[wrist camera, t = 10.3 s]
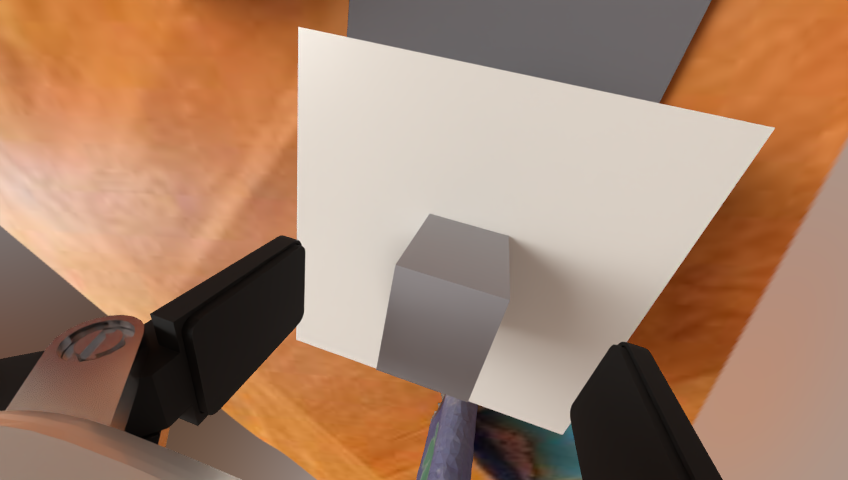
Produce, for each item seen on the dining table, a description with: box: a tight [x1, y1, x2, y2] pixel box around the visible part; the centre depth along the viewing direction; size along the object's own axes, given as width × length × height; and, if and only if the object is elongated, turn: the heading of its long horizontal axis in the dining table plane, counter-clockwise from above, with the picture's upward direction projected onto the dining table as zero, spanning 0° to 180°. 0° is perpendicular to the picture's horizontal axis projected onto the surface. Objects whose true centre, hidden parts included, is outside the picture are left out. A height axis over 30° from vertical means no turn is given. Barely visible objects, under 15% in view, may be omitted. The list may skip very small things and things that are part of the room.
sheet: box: [296, 27, 775, 435], centre depth 11 cm, size 14×14×5 cm
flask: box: [417, 393, 478, 480], centre depth 20 cm, size 9×3×11 cm, turn 167°
